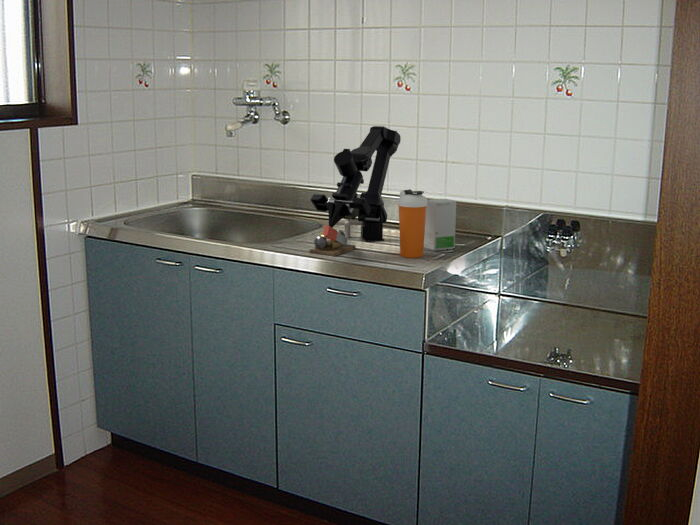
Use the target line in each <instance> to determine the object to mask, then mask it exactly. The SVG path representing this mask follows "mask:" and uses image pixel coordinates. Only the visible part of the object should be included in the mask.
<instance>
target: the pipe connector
mask: <svg viewBox="0 0 700 525" xmlns="http://www.w3.org/2000/svg"><path fill="white" fill-rule="evenodd" d="M361 225H362V221H360V222H359V221H358V219H354V220H352V219H341V220H340V221H339V222H338V223H337V224H336V225H335V226H344V234H345V237H346V238H347V239H349V238H351V226H361Z"/></svg>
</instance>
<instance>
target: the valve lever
mask: <svg viewBox="0 0 700 525" xmlns="http://www.w3.org/2000/svg"><path fill="white" fill-rule="evenodd" d="M322 232H323V236H325V237H327V238H328V239H330V240H334V241H336V242H338V243H339V244H341V245H344V246H345V245H346V244H347V243H348V238H346V237H344V236H342V235H341V234H339V233H338V230H337V229H335V228H332V227H330V226H329V225H324V227H323V231H322ZM347 245H348V244H347Z"/></svg>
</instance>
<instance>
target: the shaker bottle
mask: <svg viewBox="0 0 700 525" xmlns="http://www.w3.org/2000/svg"><path fill="white" fill-rule="evenodd" d="M423 193H425V191H423V190H412V189H411V188H410V189H405V190H401V191H400V192H399V198H398V199H397V207H398V221H399V222H398V224H399V225H398V226H399V256H400V257H402V258H406V259H407V258H408V259H409V258H410V259H411V258H412V259H417V258H422V257H424V250H425V247H424V236H425V222H426V207H427V197H426V196H424V195H423Z"/></svg>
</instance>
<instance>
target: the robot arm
mask: <svg viewBox="0 0 700 525" xmlns="http://www.w3.org/2000/svg"><path fill="white" fill-rule="evenodd" d="M401 139H402V138H401V135H400V133H398V131H397V130H393V129H390V128H388V127H386V126H383V125H381V126H380V125H377V126H376V125H373V126H370V129H369V132H368V133H367V135H366V136H365V138H364V140H362V142H361V144H360V145H359V146H358V147H356V148H354V149H351V148H343V150H341V151H340V152H338V153H337V154H335V155H334V157H333V162H334V164H335V167H336V168H337V171H338V173H339V175H340V176H342V179H341V181H340V182H337V183H336V187H337V189H336V191H335V192H332V194H331V196H332V197H327V195H326V194H325V193H324V194H322V193H314V194H312V195H311V198H310V202H311V203H312V205H313V207H314V208H315V210H316V211H318V212H327V211H328V226H330V227H332V228H333V227H335V226H337V225H336V224H337V223H338V222H339V221H340V220H345V219H350V220H356V218H357V220H358V221H359V222H360V221H362V225H360V239H362V241H364V242H384V241H385V238H384V237H383V235H384V234H383V233H384V232H383V231H384V230H383V229H384V227H383V226H384V224H386V223H387V221H388V213H387V211H386V208H385V207H384V206H385V202H384V200H383V197H382V195H383V194H382V193H383V189H384V185H385V181H386V176H387V173H388V169H389V165H390V164H389V163H390V159H391V157H392V156H393V155H394V154H396V152H397V150H398V148H399V145H400V144H401ZM374 153H376V155H375V159H374V162H373V159H372V156H373V155H374ZM372 164H373V167H372ZM371 167H372V170H371V171H372V172H371V175H370V178H369V183H368V187H367V190H366V191H365V192H362V193H361V194H360V196H359V197H358V193H357V192H358V190H359V188H360V185H361V184H364V183H365V181H364V175H363V174H362V172H368V171H369V170H370V168H371ZM333 229H334V228H333Z"/></svg>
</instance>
